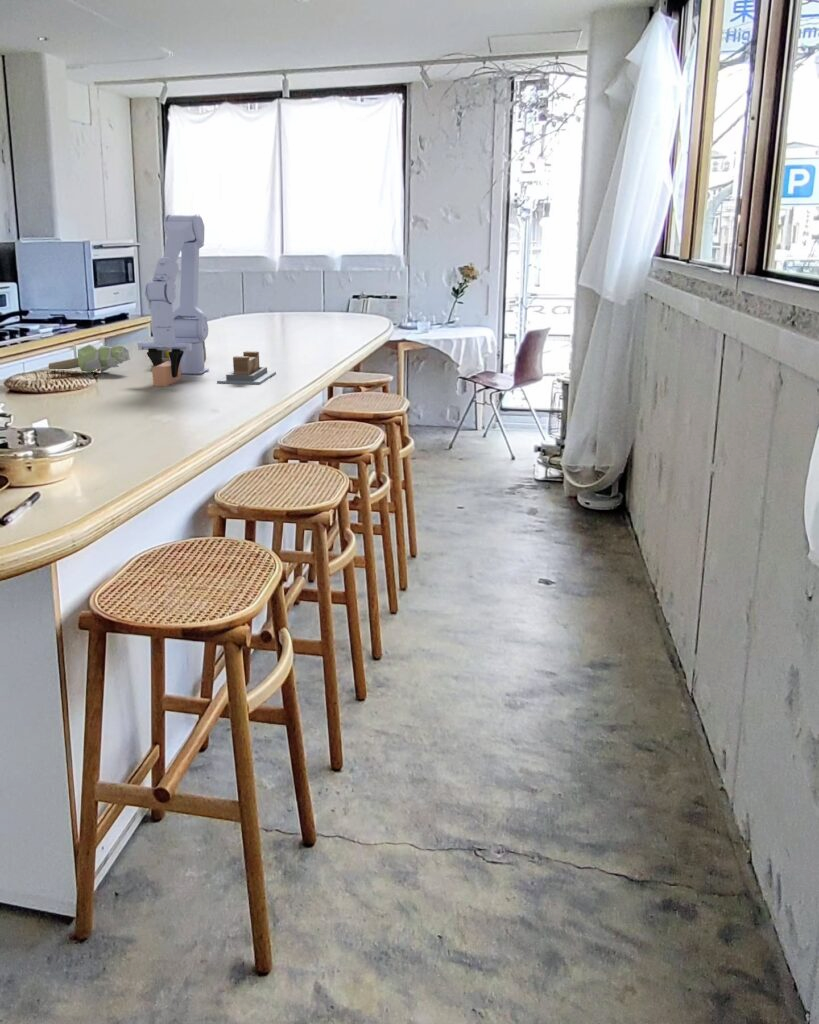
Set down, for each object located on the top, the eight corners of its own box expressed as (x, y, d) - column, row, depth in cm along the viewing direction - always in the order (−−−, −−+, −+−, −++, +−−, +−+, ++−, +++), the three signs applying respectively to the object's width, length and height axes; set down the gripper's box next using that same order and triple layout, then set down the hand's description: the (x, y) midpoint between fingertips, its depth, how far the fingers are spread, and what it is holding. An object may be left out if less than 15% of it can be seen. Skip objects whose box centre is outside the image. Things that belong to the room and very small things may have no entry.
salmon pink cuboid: (166, 386, 226) (164, 367, 224) (153, 386, 226) (151, 367, 224) (181, 378, 237) (180, 361, 236) (169, 378, 237) (167, 361, 236)
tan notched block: (248, 379, 232) (247, 357, 230) (234, 379, 232) (232, 357, 231) (259, 372, 243) (258, 351, 241) (246, 372, 244) (245, 351, 242)
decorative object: (40, 372, 240) (120, 357, 236) (44, 345, 244) (123, 329, 240) (58, 389, 248) (136, 374, 244) (62, 362, 252) (138, 347, 248)
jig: (217, 383, 230) (216, 375, 230) (236, 372, 247) (235, 365, 247) (259, 384, 229) (259, 376, 229) (275, 373, 246) (275, 366, 246)
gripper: (131, 327, 224) (136, 378, 228) (184, 328, 222) (187, 379, 227) (141, 324, 230) (146, 374, 235) (193, 325, 229) (196, 375, 233)
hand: (167, 376), depth 231 cm, fingers closed on salmon pink cuboid, 4 cm apart
